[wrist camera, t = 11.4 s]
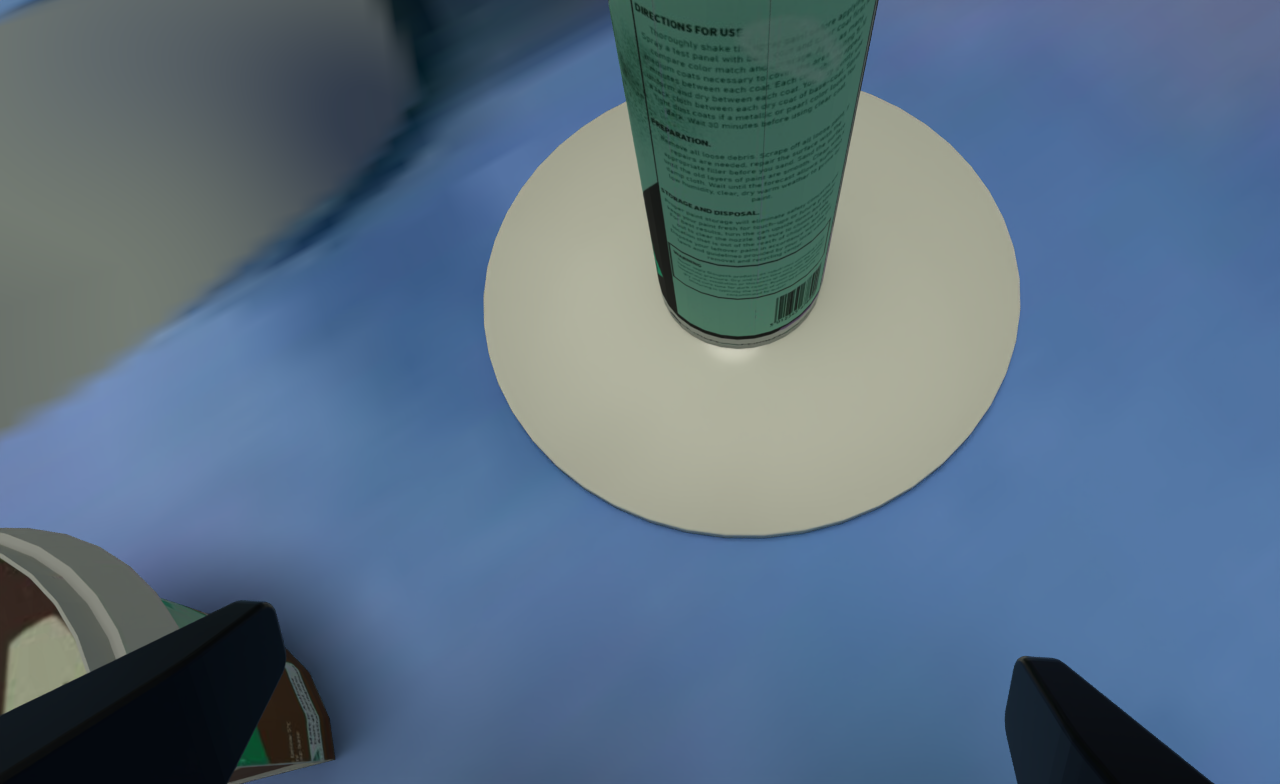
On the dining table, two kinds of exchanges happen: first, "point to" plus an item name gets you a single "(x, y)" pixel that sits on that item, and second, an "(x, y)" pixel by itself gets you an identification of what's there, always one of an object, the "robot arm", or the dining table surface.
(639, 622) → the dining table surface
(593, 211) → the cream round disc
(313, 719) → the food container
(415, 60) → the dining table surface
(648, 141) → the spray can
